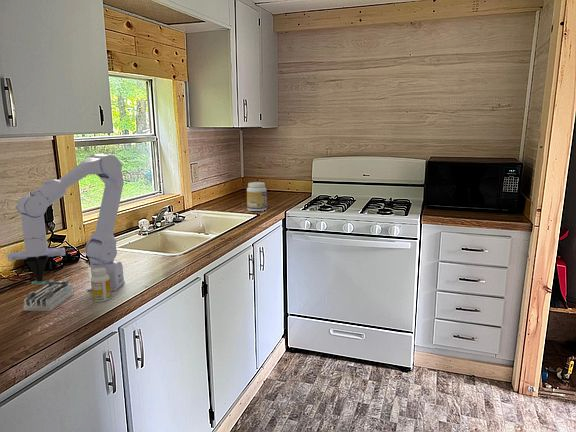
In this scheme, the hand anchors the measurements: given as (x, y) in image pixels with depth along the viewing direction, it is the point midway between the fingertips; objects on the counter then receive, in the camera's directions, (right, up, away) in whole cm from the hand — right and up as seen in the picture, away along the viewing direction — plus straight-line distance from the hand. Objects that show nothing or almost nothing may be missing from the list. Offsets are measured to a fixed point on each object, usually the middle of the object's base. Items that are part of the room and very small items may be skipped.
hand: (40, 280), depth 129 cm
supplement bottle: (+15, -7, +7) cm, 18 cm away
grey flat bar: (0, -2, +4) cm, 5 cm away
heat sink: (0, -7, +5) cm, 9 cm away
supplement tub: (+55, +23, +139) cm, 151 cm away
